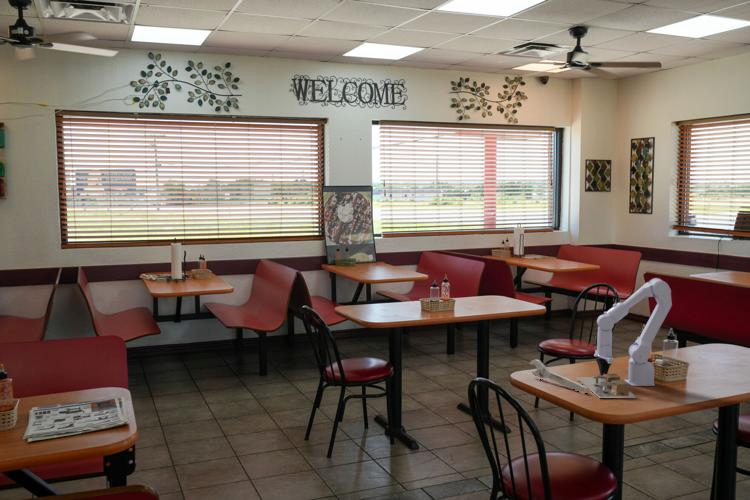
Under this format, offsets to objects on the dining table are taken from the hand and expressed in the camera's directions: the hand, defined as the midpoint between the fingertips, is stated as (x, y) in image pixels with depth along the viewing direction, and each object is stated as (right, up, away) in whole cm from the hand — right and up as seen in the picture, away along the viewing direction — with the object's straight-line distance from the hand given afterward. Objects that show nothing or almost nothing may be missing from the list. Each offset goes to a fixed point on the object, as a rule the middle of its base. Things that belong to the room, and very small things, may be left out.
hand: (603, 376), depth 279 cm
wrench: (-20, -3, -4) cm, 21 cm away
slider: (-2, -2, -8) cm, 9 cm away
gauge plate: (-3, -3, -9) cm, 10 cm away
